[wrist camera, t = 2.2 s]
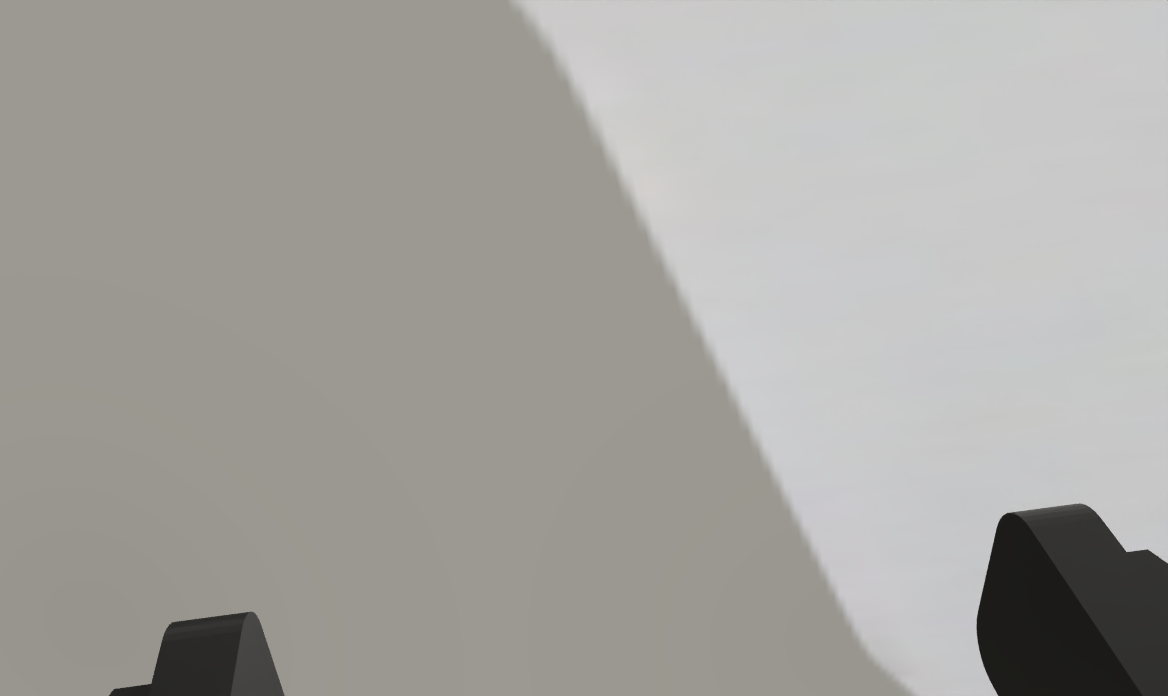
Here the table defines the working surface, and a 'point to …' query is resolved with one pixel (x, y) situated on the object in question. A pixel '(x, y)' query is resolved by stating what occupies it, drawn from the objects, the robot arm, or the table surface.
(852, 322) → the table surface
